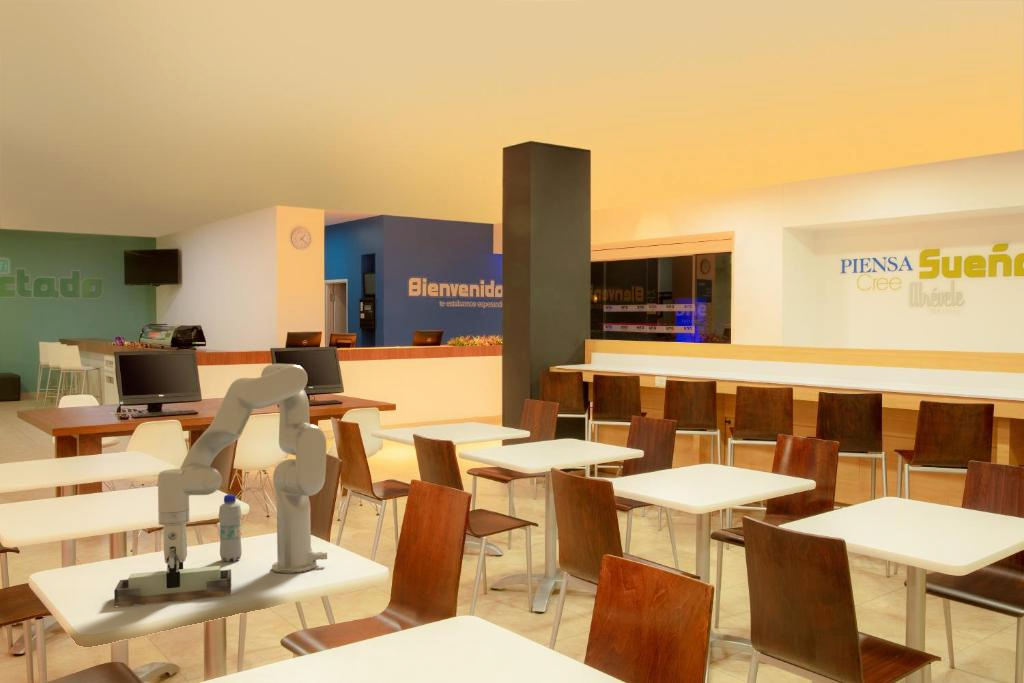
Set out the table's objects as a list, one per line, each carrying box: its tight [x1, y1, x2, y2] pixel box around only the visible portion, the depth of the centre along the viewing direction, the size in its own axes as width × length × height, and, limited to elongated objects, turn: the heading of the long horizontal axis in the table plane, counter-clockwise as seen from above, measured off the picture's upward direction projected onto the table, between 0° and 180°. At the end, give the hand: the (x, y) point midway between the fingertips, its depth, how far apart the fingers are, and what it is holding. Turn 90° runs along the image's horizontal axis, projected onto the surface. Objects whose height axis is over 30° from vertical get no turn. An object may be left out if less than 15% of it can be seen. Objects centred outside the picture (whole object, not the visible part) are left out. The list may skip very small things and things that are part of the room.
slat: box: [127, 565, 221, 596], centre depth 214 cm, size 22×4×5 cm, turn 107°
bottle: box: [218, 493, 243, 563], centre depth 248 cm, size 7×7×20 cm
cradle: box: [113, 568, 232, 607], centre depth 214 cm, size 28×10×4 cm, turn 108°
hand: (175, 582), depth 214 cm, fingers open, 9 cm apart
